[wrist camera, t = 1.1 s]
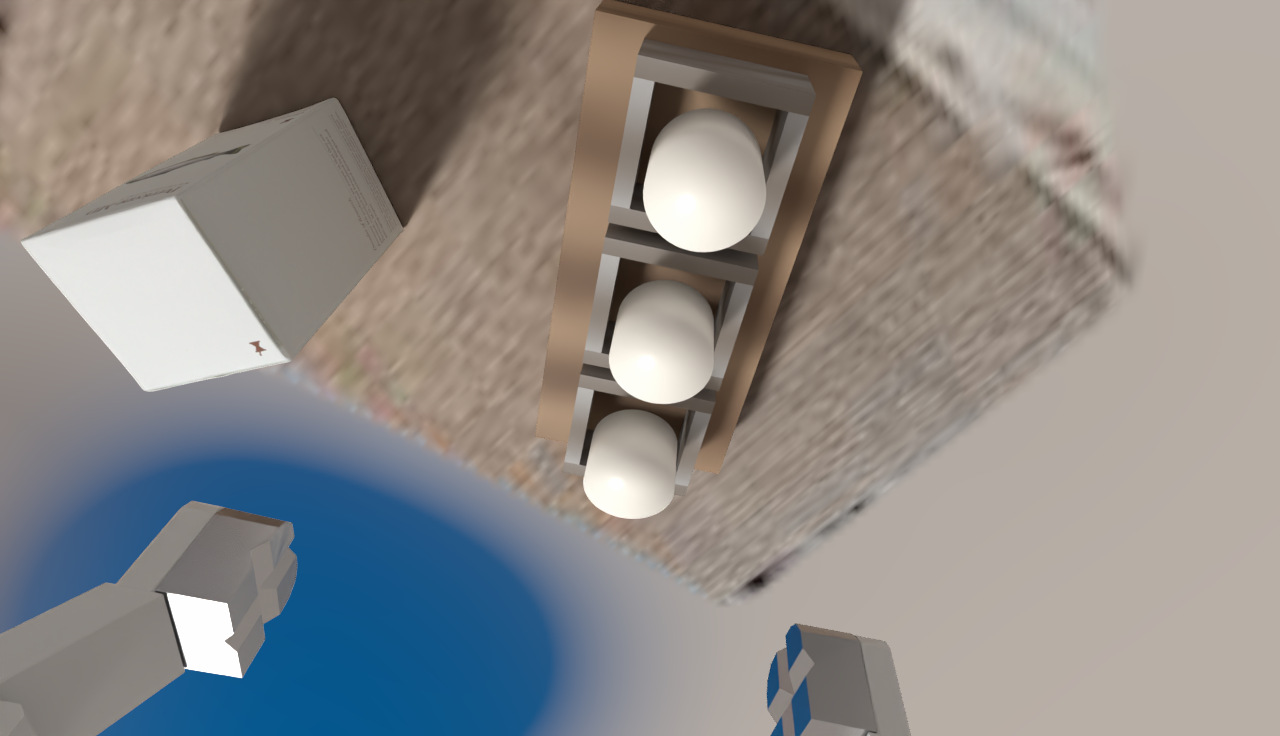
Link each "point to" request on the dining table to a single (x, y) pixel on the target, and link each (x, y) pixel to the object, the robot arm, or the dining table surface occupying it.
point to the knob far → (631, 464)
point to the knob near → (705, 181)
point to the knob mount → (636, 253)
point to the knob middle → (663, 342)
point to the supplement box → (225, 248)
